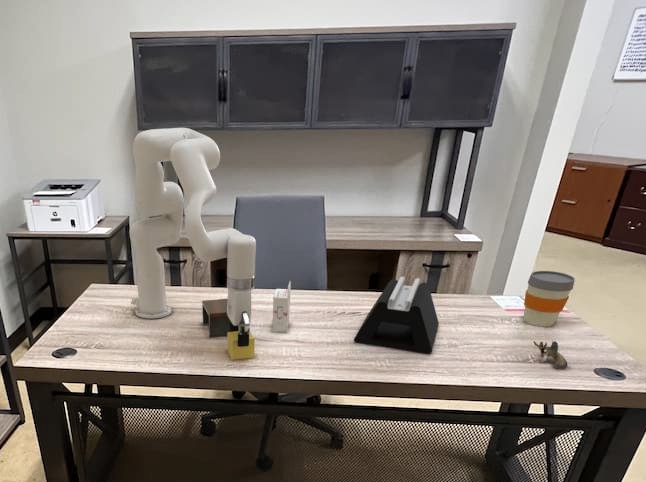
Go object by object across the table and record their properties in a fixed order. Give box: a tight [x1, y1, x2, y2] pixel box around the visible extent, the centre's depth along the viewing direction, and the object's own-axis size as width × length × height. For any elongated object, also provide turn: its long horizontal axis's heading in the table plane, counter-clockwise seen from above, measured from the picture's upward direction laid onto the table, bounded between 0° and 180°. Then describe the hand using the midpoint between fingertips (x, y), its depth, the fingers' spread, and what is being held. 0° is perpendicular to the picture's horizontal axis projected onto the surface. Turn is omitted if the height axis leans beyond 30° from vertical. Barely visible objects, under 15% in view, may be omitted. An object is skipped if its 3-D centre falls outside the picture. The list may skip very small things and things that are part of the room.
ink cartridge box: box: [271, 280, 292, 333], centre depth 169 cm, size 9×5×15 cm, turn 168°
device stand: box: [353, 276, 440, 355], centre depth 163 cm, size 22×22×15 cm
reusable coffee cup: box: [523, 270, 576, 328], centre depth 170 cm, size 13×13×15 cm
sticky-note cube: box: [226, 331, 256, 361], centre depth 155 cm, size 6×6×6 cm
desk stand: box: [201, 298, 244, 339], centre depth 171 cm, size 12×12×8 cm
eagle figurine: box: [533, 339, 568, 370], centre depth 147 cm, size 8×7×9 cm
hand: (238, 338), depth 154 cm, fingers open, 9 cm apart
